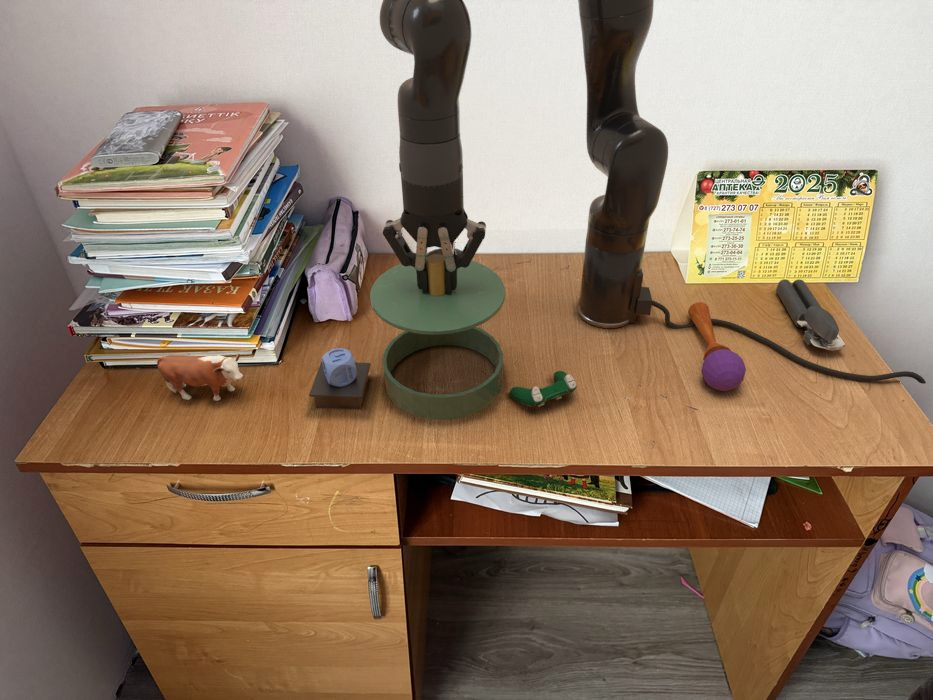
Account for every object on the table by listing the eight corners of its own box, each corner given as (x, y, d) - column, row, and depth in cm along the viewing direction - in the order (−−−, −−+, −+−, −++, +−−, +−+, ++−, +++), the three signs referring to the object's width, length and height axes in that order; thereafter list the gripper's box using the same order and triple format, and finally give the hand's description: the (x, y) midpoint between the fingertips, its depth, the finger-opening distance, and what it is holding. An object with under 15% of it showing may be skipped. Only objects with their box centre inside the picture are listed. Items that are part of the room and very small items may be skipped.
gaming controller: (514, 414, 98) (531, 411, 92) (505, 389, 98) (522, 385, 93) (567, 394, 101) (586, 389, 96) (558, 370, 102) (577, 364, 96)
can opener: (844, 359, 104) (858, 326, 100) (811, 359, 104) (824, 326, 100) (801, 291, 119) (811, 260, 115) (771, 291, 119) (781, 260, 115)
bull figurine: (247, 412, 97) (234, 369, 92) (163, 400, 99) (145, 357, 94) (260, 392, 100) (249, 349, 95) (178, 381, 102) (163, 339, 97)
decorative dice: (331, 390, 95) (327, 368, 92) (324, 373, 98) (319, 352, 95) (358, 382, 96) (355, 360, 94) (350, 366, 99) (347, 344, 97)
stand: (375, 379, 102) (372, 361, 100) (365, 416, 96) (362, 397, 94) (323, 377, 102) (319, 359, 100) (310, 414, 96) (306, 396, 94)
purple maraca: (722, 298, 110) (757, 369, 94) (708, 328, 114) (740, 402, 97) (687, 292, 110) (716, 361, 94) (674, 322, 114) (700, 394, 97)
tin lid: (506, 264, 99) (507, 226, 95) (503, 340, 85) (504, 299, 81) (382, 261, 100) (378, 224, 96) (359, 336, 86) (353, 296, 82)
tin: (503, 347, 108) (504, 322, 105) (501, 424, 94) (501, 399, 91) (394, 344, 109) (392, 320, 106) (376, 420, 95) (373, 395, 92)
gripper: (490, 158, 83) (489, 277, 94) (379, 156, 84) (391, 274, 95) (488, 184, 78) (487, 307, 88) (368, 182, 78) (382, 304, 89)
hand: (437, 289), depth 92 cm, fingers closed on tin lid, 2 cm apart
